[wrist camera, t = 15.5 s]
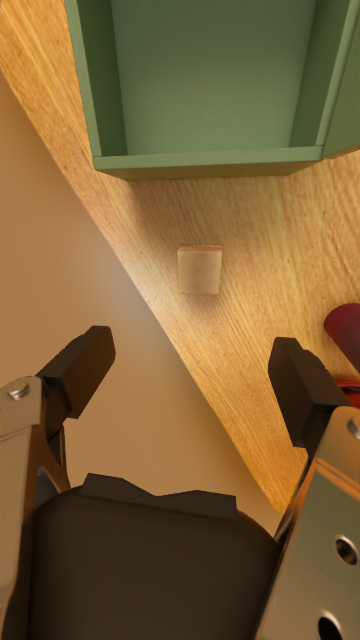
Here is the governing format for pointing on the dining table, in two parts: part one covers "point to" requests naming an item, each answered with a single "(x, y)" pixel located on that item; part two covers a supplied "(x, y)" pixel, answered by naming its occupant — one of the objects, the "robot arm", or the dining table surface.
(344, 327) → the cup
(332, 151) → the lunchbox lid
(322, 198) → the dining table surface
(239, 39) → the box
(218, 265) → the wooden block
